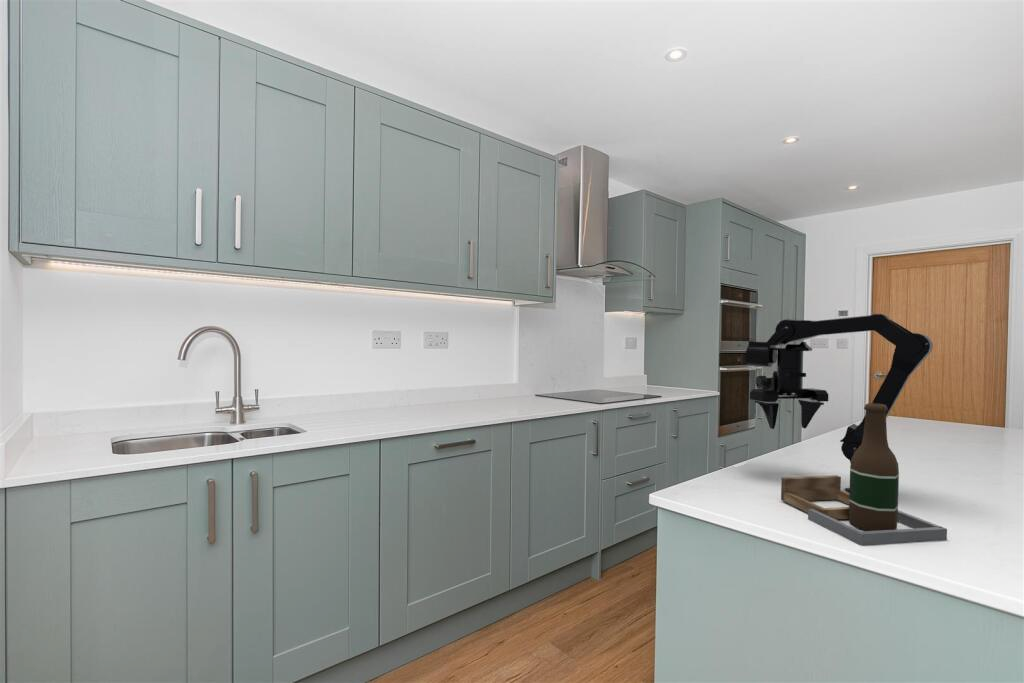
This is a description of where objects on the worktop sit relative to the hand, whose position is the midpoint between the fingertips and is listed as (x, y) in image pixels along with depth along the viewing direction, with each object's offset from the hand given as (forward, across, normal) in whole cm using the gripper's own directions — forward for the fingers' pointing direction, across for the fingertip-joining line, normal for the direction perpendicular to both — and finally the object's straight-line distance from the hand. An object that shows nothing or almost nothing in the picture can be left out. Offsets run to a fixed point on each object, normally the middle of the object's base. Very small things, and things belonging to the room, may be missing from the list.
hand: (788, 428), depth 128 cm
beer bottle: (+13, +6, +32) cm, 35 cm away
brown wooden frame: (+13, +7, +22) cm, 26 cm away
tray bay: (+13, +7, +32) cm, 35 cm away
